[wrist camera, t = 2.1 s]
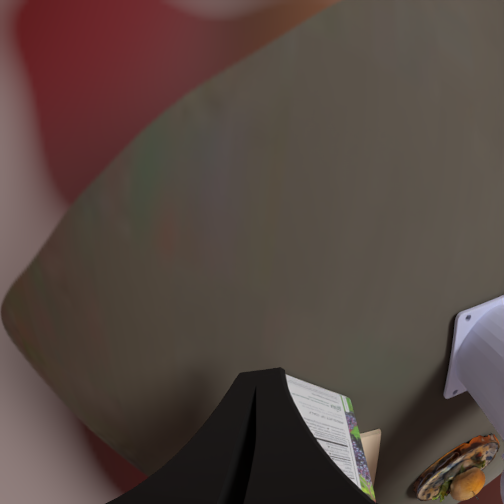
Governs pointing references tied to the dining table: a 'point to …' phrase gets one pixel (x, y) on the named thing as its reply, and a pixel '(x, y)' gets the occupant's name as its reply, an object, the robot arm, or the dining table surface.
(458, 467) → the burger
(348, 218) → the dining table surface
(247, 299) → the dining table surface
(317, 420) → the syrup box
